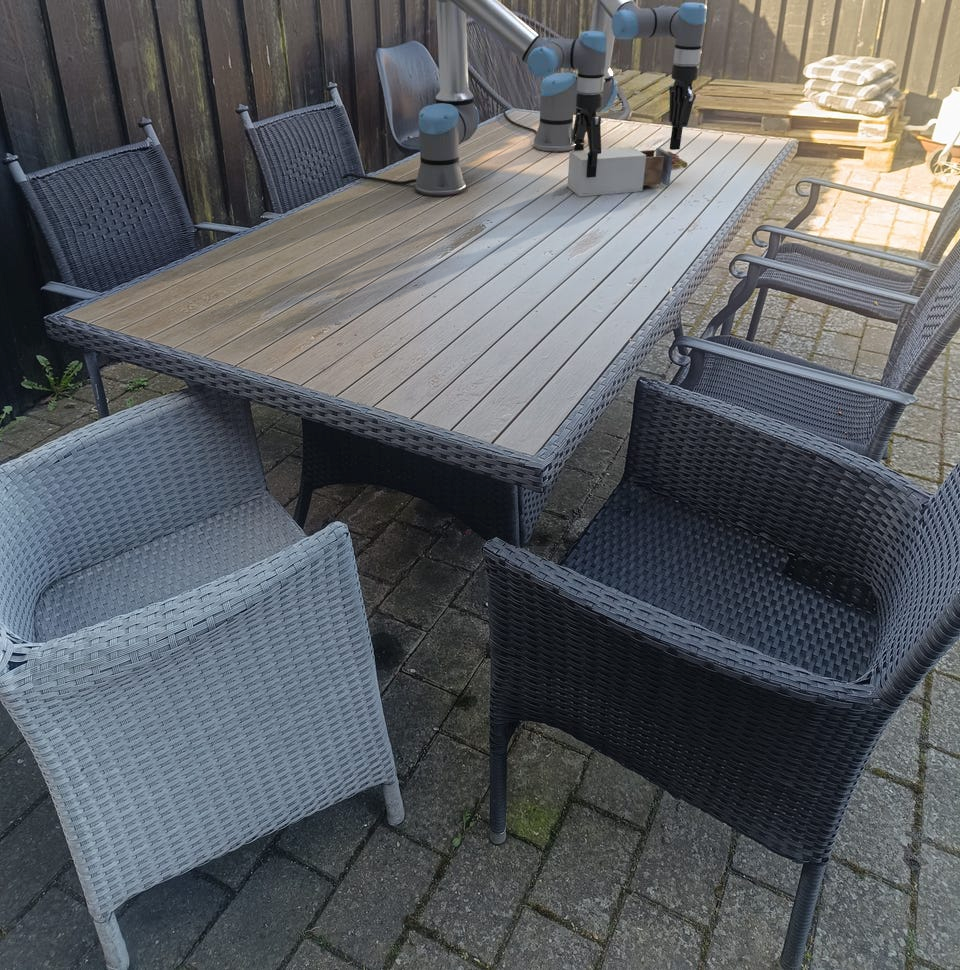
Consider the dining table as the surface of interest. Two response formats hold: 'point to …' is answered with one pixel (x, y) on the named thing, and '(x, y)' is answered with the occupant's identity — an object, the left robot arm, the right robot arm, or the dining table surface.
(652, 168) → the drawer
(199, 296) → the dining table surface
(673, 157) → the dental model
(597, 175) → the grey rectangular block
